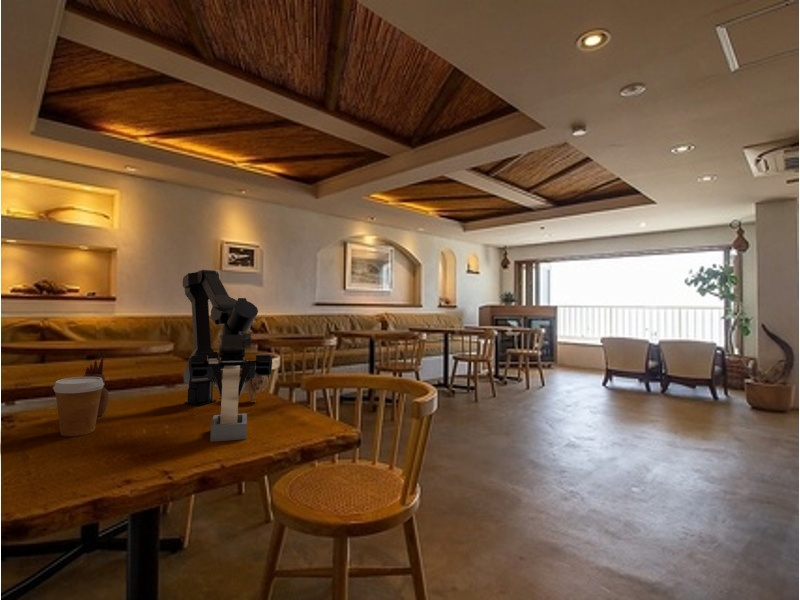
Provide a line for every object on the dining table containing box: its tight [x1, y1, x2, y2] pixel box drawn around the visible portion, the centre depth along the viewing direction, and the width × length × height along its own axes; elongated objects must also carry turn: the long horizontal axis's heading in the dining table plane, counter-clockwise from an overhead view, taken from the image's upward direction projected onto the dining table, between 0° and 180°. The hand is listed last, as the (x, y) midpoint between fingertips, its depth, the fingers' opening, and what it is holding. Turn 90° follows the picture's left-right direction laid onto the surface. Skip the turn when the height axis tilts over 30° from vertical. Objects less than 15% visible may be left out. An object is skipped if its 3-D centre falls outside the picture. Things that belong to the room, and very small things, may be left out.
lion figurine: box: [219, 374, 269, 402], centre depth 132 cm, size 15×5×9 cm, turn 95°
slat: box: [220, 366, 241, 424], centre depth 100 cm, size 5×4×14 cm
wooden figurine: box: [82, 358, 110, 418], centre depth 111 cm, size 7×6×15 cm
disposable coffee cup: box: [52, 376, 105, 437], centre depth 99 cm, size 10×10×12 cm
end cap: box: [209, 412, 248, 442], centre depth 100 cm, size 9×8×4 cm
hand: (230, 395), depth 99 cm, fingers closed on slat, 3 cm apart
